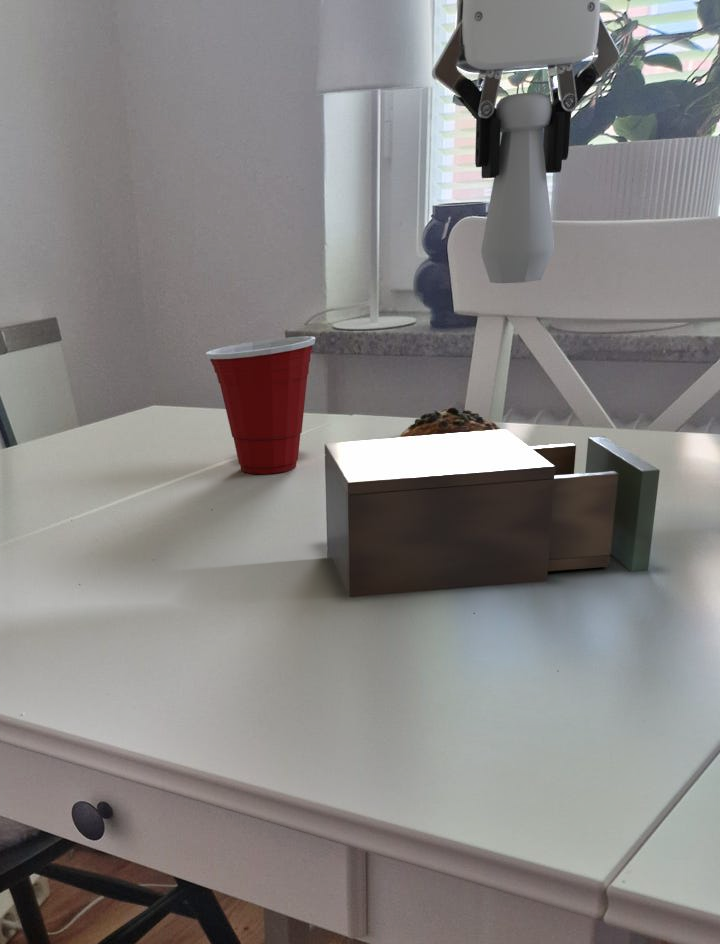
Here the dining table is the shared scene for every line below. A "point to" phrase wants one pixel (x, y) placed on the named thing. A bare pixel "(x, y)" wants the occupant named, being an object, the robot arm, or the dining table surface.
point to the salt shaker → (520, 194)
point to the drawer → (601, 507)
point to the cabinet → (437, 512)
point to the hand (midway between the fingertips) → (520, 172)
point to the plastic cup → (265, 399)
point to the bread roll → (448, 423)
